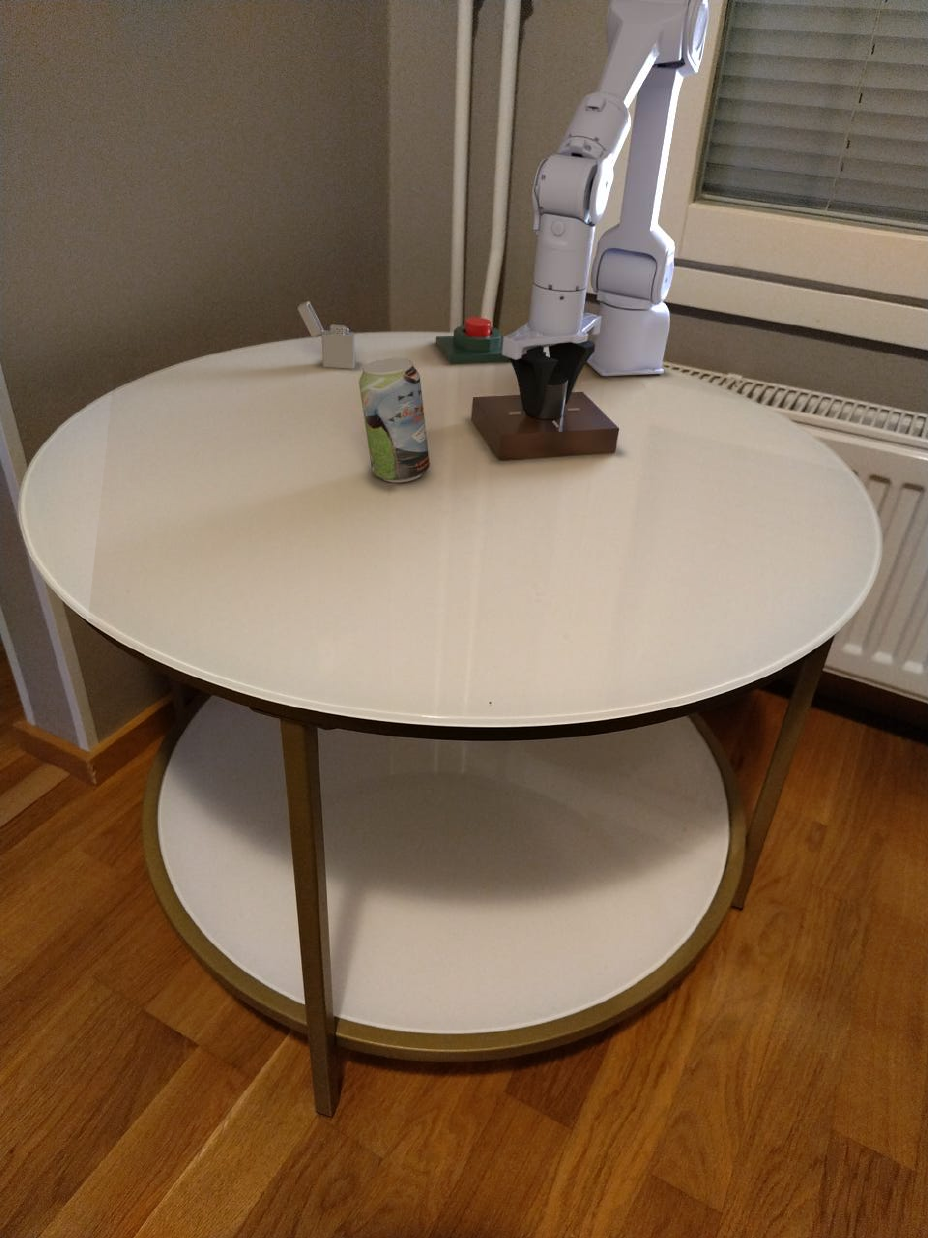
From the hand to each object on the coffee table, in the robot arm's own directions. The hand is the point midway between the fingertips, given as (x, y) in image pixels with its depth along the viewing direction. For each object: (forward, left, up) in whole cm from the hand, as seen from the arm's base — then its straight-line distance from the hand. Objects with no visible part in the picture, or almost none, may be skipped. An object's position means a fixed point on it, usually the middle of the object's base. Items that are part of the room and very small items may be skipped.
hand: (544, 407), depth 98 cm
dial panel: (0, 0, -4) cm, 4 cm away
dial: (0, 0, -1) cm, 1 cm away
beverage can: (+19, +7, -4) cm, 21 cm away
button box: (-1, -29, -4) cm, 29 cm away
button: (-1, -29, -1) cm, 29 cm away
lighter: (+21, -26, -4) cm, 34 cm away
